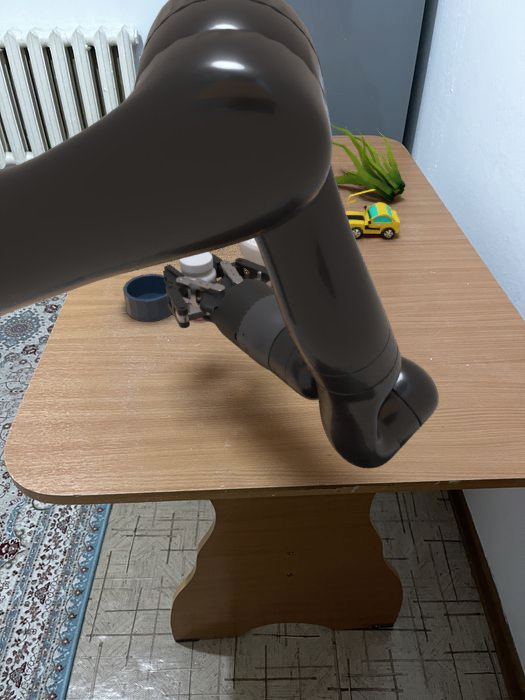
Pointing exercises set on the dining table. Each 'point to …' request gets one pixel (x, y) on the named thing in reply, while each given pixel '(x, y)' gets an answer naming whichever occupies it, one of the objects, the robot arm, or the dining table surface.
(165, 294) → the bottle holder
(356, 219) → the toy car
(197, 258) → the pill bottle
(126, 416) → the dining table surface
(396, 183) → the decorative plant
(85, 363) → the dining table surface
